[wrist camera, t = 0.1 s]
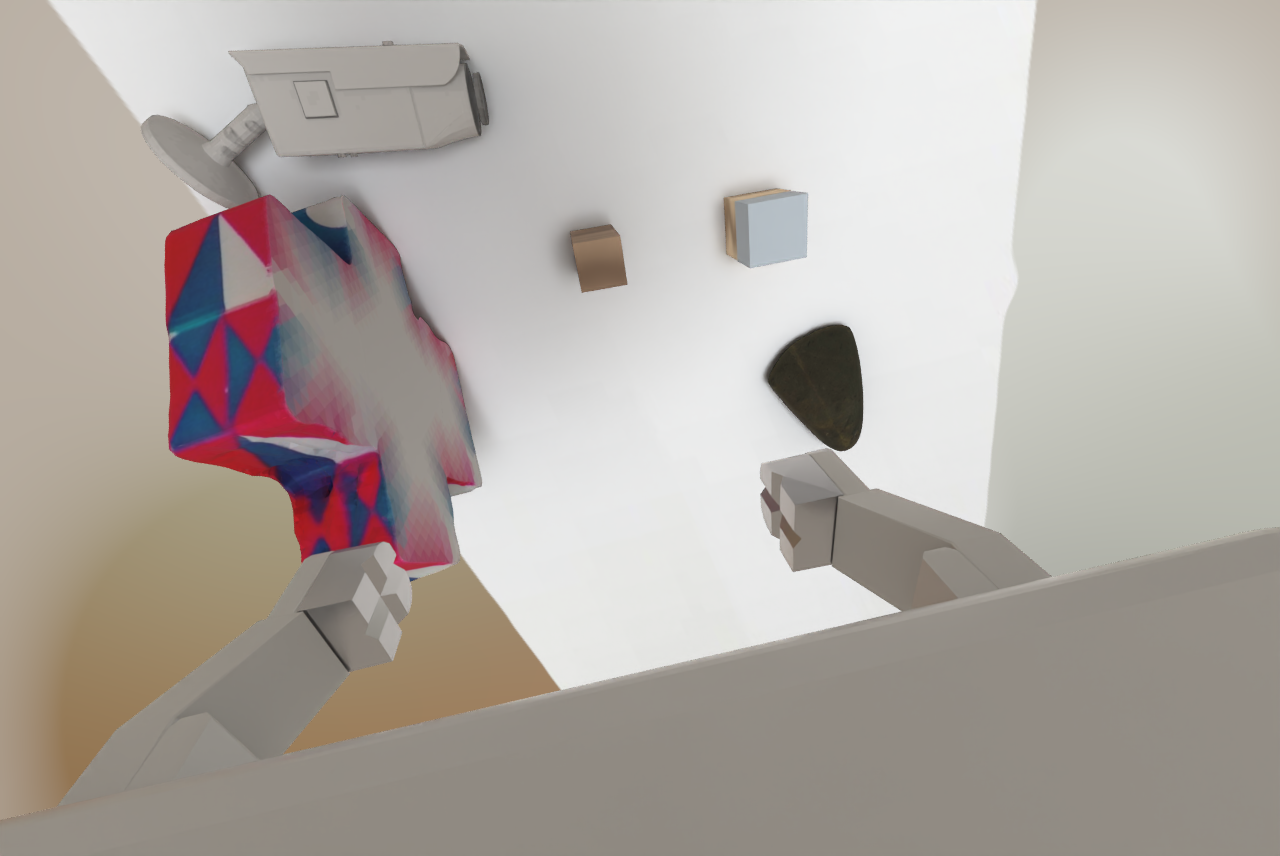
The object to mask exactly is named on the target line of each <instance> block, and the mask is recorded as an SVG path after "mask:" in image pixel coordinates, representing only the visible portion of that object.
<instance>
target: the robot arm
mask: <svg viewBox="0 0 1280 856" xmlns="http://www.w3.org/2000/svg"><path fill="white" fill-rule="evenodd" d="M760 479H761V481H762V482H763V484H764V485H765V489H764V490H763V491H762V493H761V494H760V495H761V508H762V513H763V518H764V520H765V523H766V525H767V528H768V529H769V531H770V533H771V535H773V536H774V537H776V538H778V539H780V551H781V552H782V554H783V556H784V558H785V559H786V561H787V563H788V564H789V566H790V568H791V570H792V571H793V572H795V571H800V570H806V569H811V568H816V567H821V566H826V565H831V564H832V567H834V568H835V569H837V570H839V571H840V572H842V573H843V574H845V575H846V576H848V577H849V578H851V579H853V580H854V581H856V582H857V583H859V584H860V585H862V586H863V587H865V588H867V589H868V590H870V591H871V592H873V593H874V594H876V595H877V596H879V597H881V598H882V599H884V600H885V601H887V602H888V603H890V604H891V605H893V606H894V607H896V608H898V609H899V610H901V611H902V612H898V613H894V614H889V615H885V616H881V617H876V618H872V619H868V620H863V621H859V622H855V623H850V624H846V625H842V626H837V627H833V628H829V629H824V630H820V631H816V632H812V633H807V634H803V635H799V636H794V637H790V638H786V639H781V640H777V641H773V642H768V643H764V644H760V645H755V646H751V647H747V648H742V649H738V650H734V651H729V652H725V653H721V654H716V655H712V656H708V657H703V658H699V659H695V660H690V661H686V662H682V663H677V664H673V665H668V666H664V667H660V668H655V669H651V670H647V671H642V672H638V673H634V674H629V675H625V676H621V677H617V678H612V679H608V680H604V681H599V682H595V683H591V684H586V685H582V686H578V687H573V688H569V689H565V690H560V691H556V692H552V693H547V694H543V695H539V696H535V697H530V698H526V699H521V700H517V701H513V702H509V703H505V704H500V705H496V706H491V707H487V708H483V709H478V710H474V711H470V712H465V713H461V714H457V715H453V716H448V717H444V718H439V719H435V720H431V721H427V722H423V723H418V724H413V725H409V726H405V727H401V728H397V729H392V730H387V731H383V732H379V733H375V734H370V735H366V736H362V737H357V738H353V739H349V740H344V741H340V742H336V743H331V744H327V745H323V746H318V747H314V748H310V749H305V750H301V751H297V752H292V753H288V754H284V755H283V753H284V752H285V751H286V750H287V749H288V748H289V746H290V745H291V744H292V743H293V741H294V740H295V739H296V738H297V737H298V735H299V734H300V733H301V732H302V731H303V729H304V728H305V727H306V726H307V725H308V723H309V722H310V721H311V720H312V719H313V717H314V716H315V715H316V714H317V713H318V712H319V710H320V709H321V708H322V707H323V705H324V704H325V703H326V702H327V701H328V699H329V698H330V697H331V696H332V695H333V694H334V692H335V691H336V690H337V689H338V688H339V686H340V685H341V684H342V683H343V682H344V680H345V679H346V678H347V677H348V676H349V672H351V671H355V670H359V669H363V668H366V667H371V666H375V665H379V664H383V663H387V662H391V661H393V658H394V656H395V652H396V650H397V646H398V643H399V641H400V637H401V634H402V631H401V629H400V628H399V626H398V624H399V623H400V622H401V621H402V620H403V619H404V618H405V616H407V615H408V613H409V609H410V606H411V603H412V587H411V583H410V579H409V577H408V575H407V573H406V571H405V570H404V569H402V568H400V567H399V566H397V565H395V564H393V563H394V560H395V557H396V553H395V552H394V550H393V548H392V547H391V545H390V543H386V542H378V543H372V544H367V545H361V546H356V547H351V548H345V549H340V550H336V551H330V552H325V553H320V554H315V555H311V556H310V557H308V558H306V559H304V561H303V562H302V564H301V566H300V567H299V569H298V570H297V572H296V573H295V575H294V577H293V578H292V580H291V581H290V583H289V585H288V586H287V588H286V589H285V591H284V593H283V594H282V595H281V597H280V599H279V600H278V602H277V604H276V605H275V606H274V608H273V610H272V611H271V613H270V614H269V616H268V618H267V619H265V620H261V621H258V622H256V623H255V624H254V625H252V626H251V627H250V628H248V629H247V630H246V631H244V632H243V633H242V634H241V635H239V636H238V637H237V638H235V639H234V640H233V641H231V642H230V643H229V644H228V645H226V646H225V647H224V648H223V649H221V650H220V651H218V652H217V653H216V654H215V655H213V656H212V657H211V658H209V659H208V660H207V661H205V662H204V663H203V664H202V665H200V666H199V667H198V668H196V669H195V670H194V671H192V672H191V673H190V674H189V675H187V676H186V677H185V678H183V679H182V680H181V681H179V682H178V683H177V684H175V685H174V686H173V687H172V688H170V689H169V690H168V691H166V692H165V693H164V694H163V695H161V696H160V697H159V698H157V699H156V700H155V701H153V702H152V703H151V704H150V705H148V706H147V707H145V708H144V709H143V710H142V711H140V712H139V713H138V714H136V715H135V716H134V717H133V718H131V719H130V720H129V721H127V722H126V723H125V724H123V725H122V726H121V727H119V728H118V729H117V730H116V731H115V732H114V733H113V735H112V736H111V737H110V738H109V740H108V741H107V742H106V743H105V745H104V746H103V747H102V749H101V750H100V751H99V753H98V754H97V755H96V757H95V758H94V759H93V760H92V762H91V763H90V764H89V766H88V767H87V768H86V769H85V771H84V772H83V773H82V775H81V776H80V777H79V778H78V780H77V781H76V782H75V784H74V785H73V786H72V787H71V789H70V790H69V791H68V793H67V794H66V795H65V797H64V798H63V799H62V800H61V802H60V803H59V804H58V806H57V807H55V808H51V809H46V810H42V811H37V812H33V813H29V814H24V815H20V816H16V817H11V818H7V819H3V820H0V856H1280V527H1275V528H1264V529H1259V530H1253V531H1247V532H1242V533H1238V534H1234V535H1230V536H1226V537H1222V538H1217V539H1213V540H1209V541H1205V542H1201V543H1196V544H1192V545H1188V546H1183V547H1179V548H1175V549H1171V550H1166V551H1162V552H1158V553H1153V554H1149V555H1145V556H1140V557H1136V558H1131V559H1127V560H1123V561H1118V562H1115V563H1110V564H1105V565H1101V566H1097V567H1092V568H1089V569H1084V570H1080V571H1075V572H1071V573H1067V574H1062V575H1058V576H1054V577H1052V576H1051V575H1049V574H1048V573H1047V572H1046V571H1045V570H1043V569H1042V568H1041V567H1040V566H1039V565H1038V564H1036V563H1035V562H1034V561H1033V560H1032V559H1030V558H1029V557H1028V556H1027V555H1026V554H1025V553H1023V552H1022V551H1021V550H1020V549H1018V548H1017V547H1016V546H1015V545H1014V544H1013V543H1012V542H1010V541H1009V540H1008V539H1007V538H1006V537H1004V536H1003V535H1002V534H1001V533H999V532H996V531H993V530H990V529H987V528H985V527H982V526H979V525H976V524H974V523H971V522H968V521H965V520H963V519H960V518H957V517H954V516H951V515H949V514H946V513H943V512H940V511H938V510H935V509H932V508H929V507H927V506H924V505H921V504H918V503H915V502H913V501H910V500H907V499H904V498H902V497H899V496H896V495H893V494H891V493H888V492H885V491H882V490H879V489H872V490H870V489H869V488H868V487H867V486H866V485H865V484H864V483H863V482H862V481H861V480H860V479H859V478H858V477H857V476H856V475H855V474H854V473H853V472H852V471H851V469H850V468H849V467H848V466H847V465H846V464H845V463H844V462H843V461H842V460H841V459H840V458H839V457H838V456H837V455H836V454H835V453H834V452H833V451H832V450H831V449H828V448H825V449H821V450H817V451H812V452H808V453H805V454H803V455H798V456H793V457H789V458H784V459H779V460H774V461H770V462H765V463H762V464H761V468H760Z"/></svg>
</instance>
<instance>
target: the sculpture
mask: <svg viewBox="0 0 1280 856" xmlns="http://www.w3.org/2000/svg"><path fill="white" fill-rule="evenodd" d="M165 284H166V326H167V331H168V336H169V369H170V407H169V433H168V438H169V449H170V451H172V453H174V455H175V456H177V457H179V458H182V459H185V460H189V461H193V462H199V463H205V464H212V465H217V466H222V467H226V468H230V469H233V470H236V471H239V472H242V473H245V474H249V475H252V476H264V477H270V478H272V479H274V480H276V481H278V482H279V483H280V484H281V485H282V486H283V488H284V489H285V490H286V491H287V492H288V494H289V496H290V499H291V502H292V507H293V516H294V531H295V535H296V537H297V540H298V542H299V544H300V550H301V558H302V559H301V562H303V561H304V559H306V558H308V557H310V556H311V555H315V554H320V553H325V552H330V551H336V550H340V549H345V548H351V547H356V546H361V545H367V544H372V543H378V542H386V543H390V545H391V547H392V548H393V550H394V552H395V553H396V557H395V560H394V563H393V564H395V565H397V566H399V567H400V568H402V569H404V570H405V571H406V573H407V575H408V577H409V579H410V582H411V581H413V580H415V579H418V578H420V577H424V576H427V575H429V574H433V573H435V572H438V571H441V570H444V569H446V568H448V567H450V566H452V565H455V564H457V563H458V562H459V561H460V550H459V545H458V541H457V537H456V533H455V528H454V517H453V508H452V502H451V496H455V495H459V494H463V493H467V492H471V491H472V490H474V489H475V488H477V487H481V486H482V479H481V474H480V469H479V465H478V461H477V457H476V453H475V448H474V444H473V440H472V436H471V431H470V427H469V423H468V418H467V414H466V410H465V405H464V401H463V396H462V391H461V386H460V382H459V377H458V373H457V369H456V364H455V360H454V356H453V353H452V351H451V349H450V347H449V346H448V345H447V344H446V343H445V342H442V341H440V340H439V339H438V338H437V337H435V336H434V334H433V332H432V331H431V329H430V327H429V326H428V325H427V323H426V322H425V321H424V320H423V319H422V318H421V317H420V318H419V320H418V319H417V318H416V317H415V315H414V313H413V311H412V303H411V300H410V298H409V295H408V292H407V288H406V284H405V280H404V276H403V272H402V268H401V262H400V255H399V253H398V251H397V249H396V248H395V247H394V245H393V244H392V243H391V242H390V241H389V240H388V239H387V238H386V237H385V236H384V235H383V234H382V233H381V232H380V231H379V230H378V229H377V228H376V227H375V226H374V225H373V224H372V223H371V222H370V221H369V220H368V219H367V218H366V217H365V216H364V215H363V214H362V213H361V212H360V211H359V210H358V209H357V208H356V207H355V205H354V204H353V203H352V202H351V201H350V200H349V199H348V198H347V197H345V196H343V195H342V196H341V197H334V198H332V199H330V200H328V201H326V202H322V203H319V204H316V205H313V206H310V207H307V208H304V209H301V210H299V211H296V212H293V213H291V212H290V211H289V210H288V209H287V208H286V207H285V206H284V205H282V204H281V203H280V202H279V201H278V200H277V199H276V198H275V197H273V196H271V195H267V196H264V197H260V198H258V199H255V200H252V201H249V202H247V203H244V204H241V205H238V206H236V207H233V208H230V209H227V210H225V211H222V212H219V213H217V214H214V215H211V216H208V217H206V218H203V219H200V220H198V221H195V222H193V223H190V224H188V225H186V226H183V227H181V228H179V229H176V230H173V231H171V232H170V233H169V235H168V236H167V237H166V241H165Z"/></svg>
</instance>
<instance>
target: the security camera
mask: <svg viewBox="0 0 1280 856" xmlns="http://www.w3.org/2000/svg"><path fill="white" fill-rule="evenodd" d="M228 52H229V54H230V55H231V56H232V57H233V58H234V59H235V60H236V61H237V62H238V63H239V64H240V65H241V66H242V67H243V69H244V71H245V74H246V77H247V79H248V82H249V85H250V87H251V90H252V92H253V95H254V98H255V100H256V103H254V104H251V105H248V106H247V108H246V109H245V110H244V111H242V112H241V113H240V114H239V115H238V116H237V117H236V118H235V119H234V120H233V121H232V122H230V123H229V124H228V125H227V126H226V127H225V128H224V129H223V130H222V131H221V132H220V133H218V134H217V135H216V136H215V137H214V138H213V139H212V140H211V141H209V140H208V139H206V138H205V137H203V136H202V135H200V134H199V133H197V132H196V131H194V130H193V129H191V128H189V127H187V126H186V125H184V124H182V123H180V122H178V121H176V120H173V119H171V118H168V117H165V116H160V115H152V116H151V117H149V118H148V119H147V120H146V121H145V122H144V123H143V124H142V125H141V130H142V135H143V137H144V139H145V141H146V143H147V144H148V146H149V147H150V149H151V150H152V151H153V152H154V154H155V155H156V156H157V157H158V158H159V159H160V161H162V162H163V164H164V165H165V166H166V167H168V168H169V169H170V170H171V171H172V172H173V173H174V174H175V175H176V176H178V177H179V178H180V179H181V180H182V181H184V182H185V183H186V184H188V185H189V186H190V187H192V188H193V189H194V190H196V191H197V192H199V193H200V194H202V195H203V196H205V197H207V198H208V199H210V200H212V201H214V202H216V203H218V204H220V205H222V206H224V207H226V208H229V209H230V208H233V207H236V206H238V205H241V204H244V203H247V202H249V201H252V200H255V199H258V198H259V196H258V193H257V191H256V189H255V187H254V185H253V184H252V182H251V181H250V180H249V178H248V177H247V176H246V174H245V173H244V172H243V171H242V170H241V169H240V168H239V167H238V166H237V165H236V164H235V163H234V162H233V159H234V158H235V157H236V156H238V155H239V154H240V153H241V152H242V151H243V150H244V149H245V148H246V147H248V146H249V145H250V144H251V143H252V142H253V141H254V140H255V139H256V138H258V137H259V136H260V135H261V134H262V133H263V132H264V131H265V130H266V129H267V131H268V134H269V137H270V139H271V142H272V144H273V147H274V149H275V152H276V154H277V155H278V156H279V157H293V156H321V155H338V158H341V157H346V154H350V155H351V157H357V156H358V155H357V153H375V152H390V151H404V150H418V149H434V148H440V147H443V146H445V145H447V144H450V143H453V142H456V141H460V140H463V139H466V138H470V137H475V136H481V125H480V118H481V122H482V124H483V125H488V124H489V118H488V110H487V104H486V99H485V94H484V89H483V84H482V80H481V77H480V74H479V72H476V73H473V82H472V78H471V74H470V71H469V68H468V66H467V64H466V63H459V61H460V60H470V58H469V56H468V54H467V52H466V50H465V48H464V47H463V45H461V44H459V43H444V44H416V45H393V42H392V41H383V46H359V47H331V48H303V49H274V50H246V51H228ZM473 84H474V86H473ZM478 110H479V111H478ZM479 115H480V117H479Z"/></svg>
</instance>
